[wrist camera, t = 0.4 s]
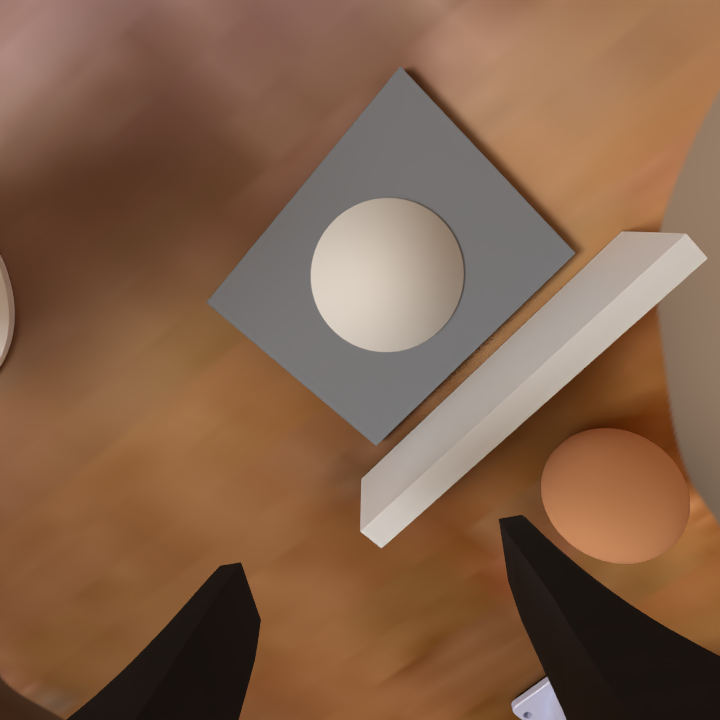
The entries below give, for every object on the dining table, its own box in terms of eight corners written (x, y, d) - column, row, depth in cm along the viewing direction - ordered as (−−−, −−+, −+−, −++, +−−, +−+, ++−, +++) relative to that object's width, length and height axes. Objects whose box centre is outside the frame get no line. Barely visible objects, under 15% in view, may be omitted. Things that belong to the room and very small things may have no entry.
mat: (570, 252, 19) (576, 253, 19) (375, 440, 22) (376, 446, 21) (399, 70, 17) (400, 65, 17) (210, 300, 20) (205, 303, 19)
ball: (663, 458, 22) (756, 532, 17) (573, 529, 23) (634, 619, 18) (589, 385, 21) (664, 439, 16) (500, 463, 22) (541, 538, 17)
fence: (640, 251, 19) (707, 258, 15) (379, 493, 23) (381, 548, 19) (622, 231, 19) (686, 233, 15) (361, 478, 22) (360, 531, 19)
